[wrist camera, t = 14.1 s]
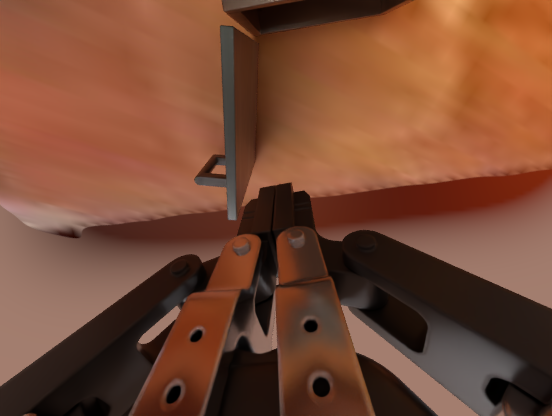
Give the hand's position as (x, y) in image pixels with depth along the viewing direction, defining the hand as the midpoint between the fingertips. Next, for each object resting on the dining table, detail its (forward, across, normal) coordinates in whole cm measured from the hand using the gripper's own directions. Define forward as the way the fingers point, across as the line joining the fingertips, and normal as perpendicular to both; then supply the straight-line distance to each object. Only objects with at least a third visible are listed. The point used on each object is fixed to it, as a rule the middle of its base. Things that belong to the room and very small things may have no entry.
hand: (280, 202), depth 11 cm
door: (+29, +7, -1) cm, 30 cm away
